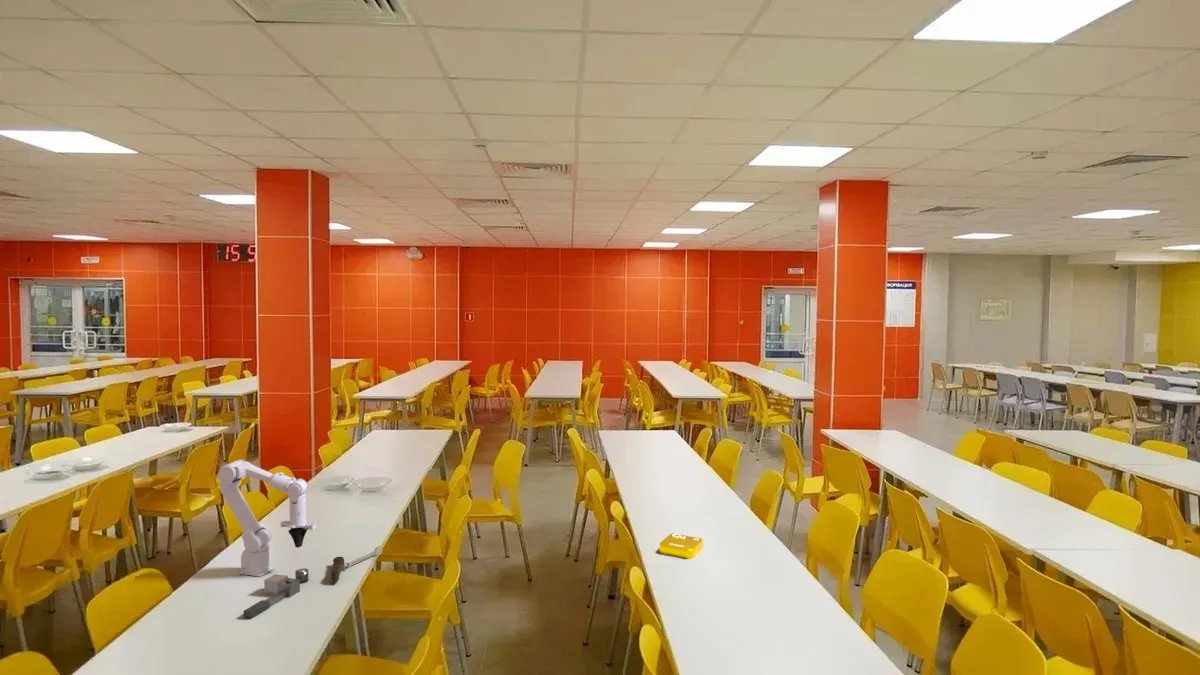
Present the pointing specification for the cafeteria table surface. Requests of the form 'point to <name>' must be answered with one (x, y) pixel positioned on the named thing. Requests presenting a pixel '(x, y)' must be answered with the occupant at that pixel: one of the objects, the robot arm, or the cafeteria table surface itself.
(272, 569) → the robot arm
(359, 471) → the cafeteria table surface
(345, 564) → the combination wrench
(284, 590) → the ratchet
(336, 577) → the rough brown wooden log
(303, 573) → the socket
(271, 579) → the grey block
